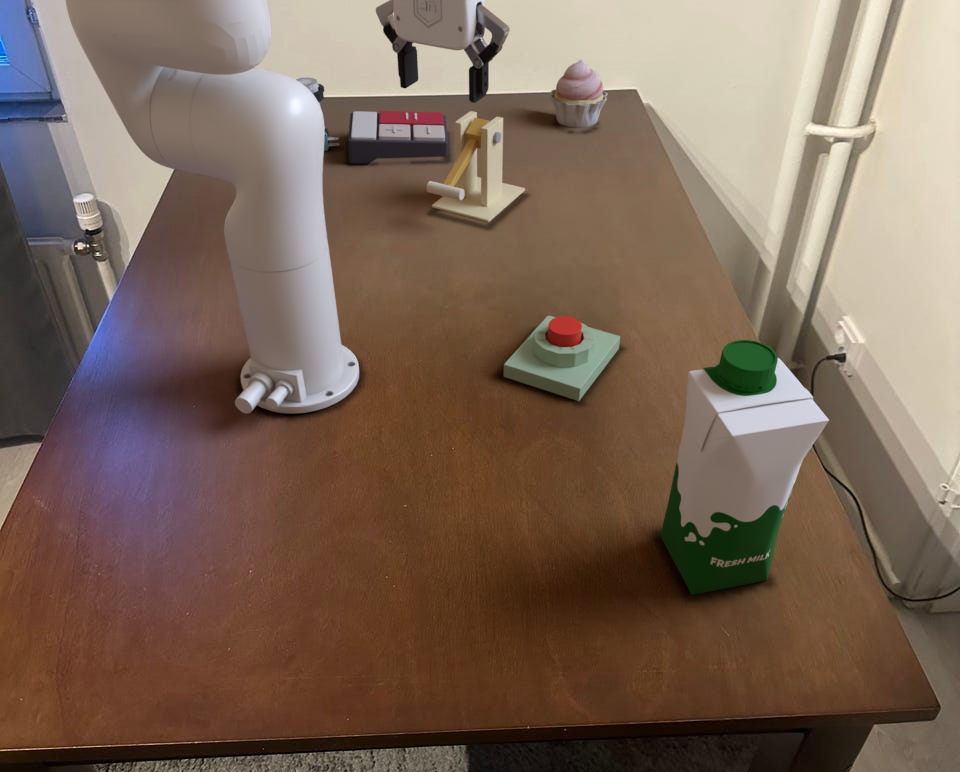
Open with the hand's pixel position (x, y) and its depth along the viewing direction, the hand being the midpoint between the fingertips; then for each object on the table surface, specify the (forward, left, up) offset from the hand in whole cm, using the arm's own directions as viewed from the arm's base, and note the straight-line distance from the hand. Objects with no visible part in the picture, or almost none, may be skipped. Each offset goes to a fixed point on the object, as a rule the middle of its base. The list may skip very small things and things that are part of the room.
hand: (443, 91), depth 109 cm
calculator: (+21, +16, -18) cm, 32 cm away
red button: (-26, -23, -15) cm, 37 cm away
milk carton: (-50, -43, -18) cm, 68 cm away
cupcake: (+39, -8, -18) cm, 44 cm away
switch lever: (+4, -1, -11) cm, 11 cm away
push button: (+17, +28, -18) cm, 37 cm away
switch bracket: (+7, -2, -18) cm, 19 cm away
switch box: (-26, -23, -18) cm, 39 cm away
